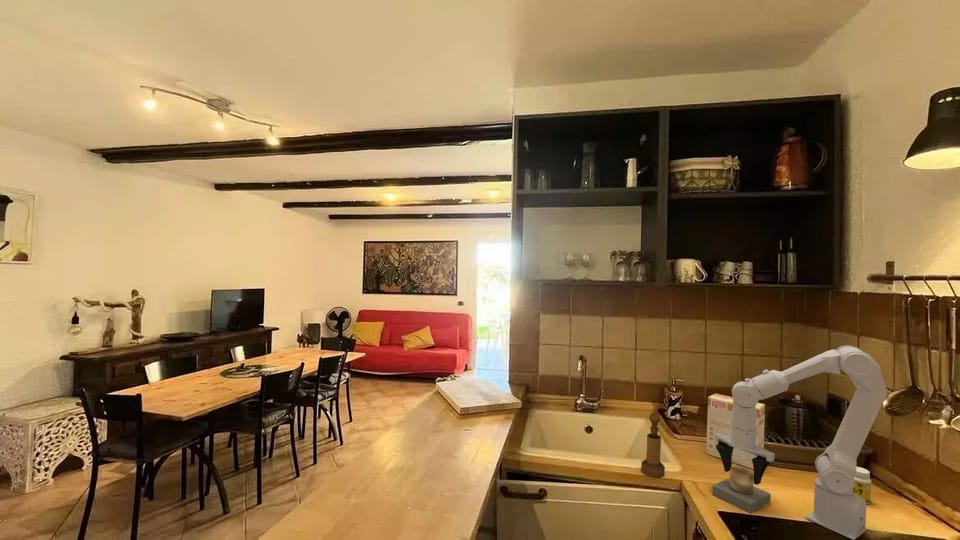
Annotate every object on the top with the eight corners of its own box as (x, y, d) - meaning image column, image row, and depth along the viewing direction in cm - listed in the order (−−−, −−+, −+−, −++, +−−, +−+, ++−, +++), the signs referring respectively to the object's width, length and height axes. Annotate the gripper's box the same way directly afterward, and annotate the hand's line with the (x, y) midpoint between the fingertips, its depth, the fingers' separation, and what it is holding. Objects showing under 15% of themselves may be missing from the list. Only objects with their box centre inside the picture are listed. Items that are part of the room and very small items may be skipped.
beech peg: (756, 500, 113) (757, 473, 113) (746, 506, 110) (747, 478, 110) (735, 491, 117) (736, 464, 117) (725, 496, 115) (726, 469, 114)
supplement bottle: (842, 496, 116) (844, 466, 116) (853, 493, 118) (854, 464, 118) (863, 506, 112) (865, 475, 111) (874, 502, 113) (875, 472, 113)
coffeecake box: (763, 464, 134) (765, 404, 134) (757, 471, 129) (759, 408, 129) (713, 448, 145) (715, 392, 145) (705, 454, 141) (707, 396, 140)
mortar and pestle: (650, 478, 123) (652, 418, 123) (636, 468, 129) (638, 410, 129) (669, 476, 125) (671, 416, 125) (654, 465, 131) (656, 409, 131)
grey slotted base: (770, 502, 112) (770, 493, 112) (750, 513, 107) (751, 503, 107) (732, 485, 120) (732, 476, 120) (712, 494, 115) (712, 485, 115)
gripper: (780, 434, 109) (779, 485, 109) (724, 416, 122) (723, 462, 122) (767, 439, 105) (765, 492, 106) (710, 420, 118) (709, 467, 118)
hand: (741, 476), depth 113 cm, fingers open, 7 cm apart
